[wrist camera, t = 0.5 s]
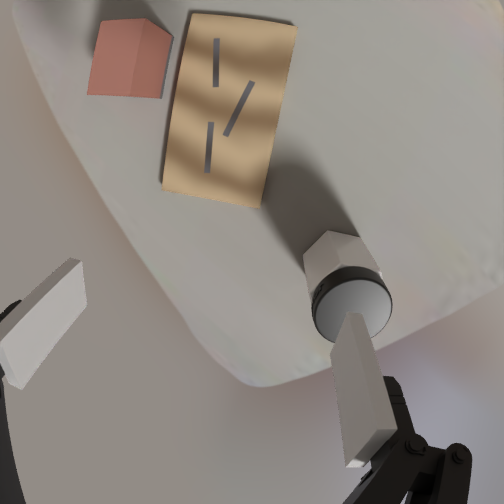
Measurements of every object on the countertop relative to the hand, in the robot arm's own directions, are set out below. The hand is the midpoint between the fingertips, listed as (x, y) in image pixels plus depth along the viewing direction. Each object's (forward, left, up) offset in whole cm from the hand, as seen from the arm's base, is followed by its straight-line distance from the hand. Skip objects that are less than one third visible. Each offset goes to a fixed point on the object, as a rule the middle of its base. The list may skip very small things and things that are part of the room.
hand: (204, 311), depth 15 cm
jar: (+7, +13, -25) cm, 29 cm away
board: (-9, -4, -25) cm, 27 cm away
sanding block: (-13, -15, -25) cm, 32 cm away
